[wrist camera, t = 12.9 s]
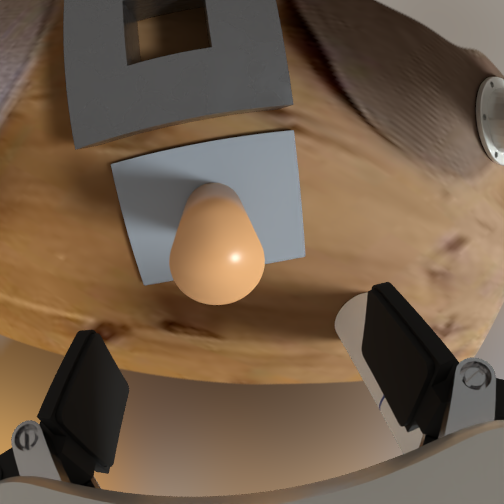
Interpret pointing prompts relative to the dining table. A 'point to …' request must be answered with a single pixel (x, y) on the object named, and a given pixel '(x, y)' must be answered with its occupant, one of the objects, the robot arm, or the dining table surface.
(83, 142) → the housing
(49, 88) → the dining table surface
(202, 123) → the dining table surface
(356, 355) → the cylindrical container
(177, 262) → the orange rounded cylinder
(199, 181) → the mat
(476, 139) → the dining table surface
